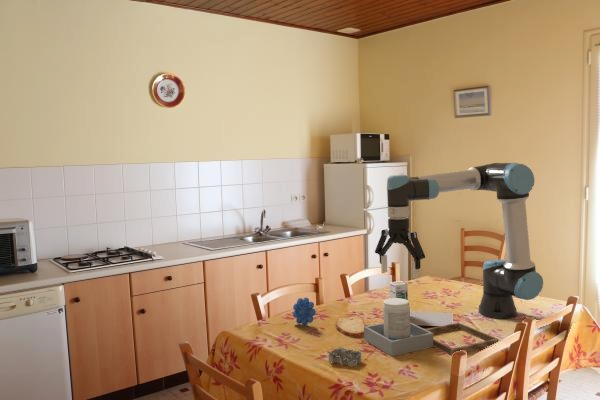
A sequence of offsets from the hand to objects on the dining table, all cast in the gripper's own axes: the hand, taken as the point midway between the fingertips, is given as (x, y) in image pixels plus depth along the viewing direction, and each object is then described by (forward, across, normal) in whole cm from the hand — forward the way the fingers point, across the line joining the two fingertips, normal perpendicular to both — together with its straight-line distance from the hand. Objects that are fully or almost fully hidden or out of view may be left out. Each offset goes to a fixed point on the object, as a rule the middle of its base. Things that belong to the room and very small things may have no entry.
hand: (399, 275), depth 188 cm
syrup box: (+25, -17, +24) cm, 39 cm away
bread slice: (+25, -22, -1) cm, 34 cm away
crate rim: (+25, +15, +13) cm, 32 cm away
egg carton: (+25, -4, -28) cm, 38 cm away
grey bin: (+25, 0, -3) cm, 25 cm away
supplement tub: (+24, 0, -3) cm, 24 cm away
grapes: (+25, -40, -10) cm, 48 cm away
